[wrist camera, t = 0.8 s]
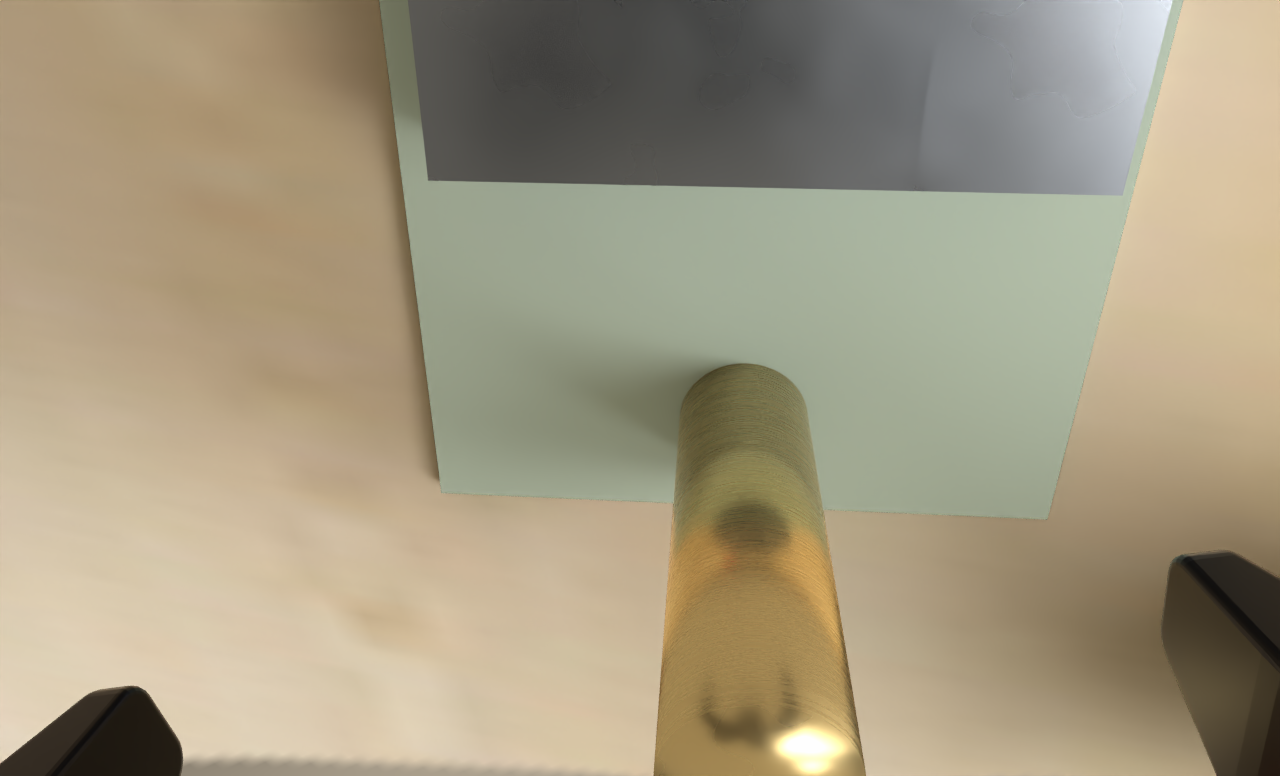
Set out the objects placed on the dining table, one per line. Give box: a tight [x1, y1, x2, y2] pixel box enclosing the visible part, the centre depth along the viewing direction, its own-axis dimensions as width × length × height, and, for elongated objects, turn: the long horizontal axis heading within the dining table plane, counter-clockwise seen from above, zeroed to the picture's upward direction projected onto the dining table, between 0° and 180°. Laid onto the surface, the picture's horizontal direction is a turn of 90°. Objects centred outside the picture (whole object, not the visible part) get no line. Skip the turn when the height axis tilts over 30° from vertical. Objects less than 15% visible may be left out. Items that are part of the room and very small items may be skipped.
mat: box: [379, 0, 1183, 520], centre depth 18 cm, size 21×15×1 cm
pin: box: [654, 363, 866, 776], centre depth 18 cm, size 3×3×10 cm
